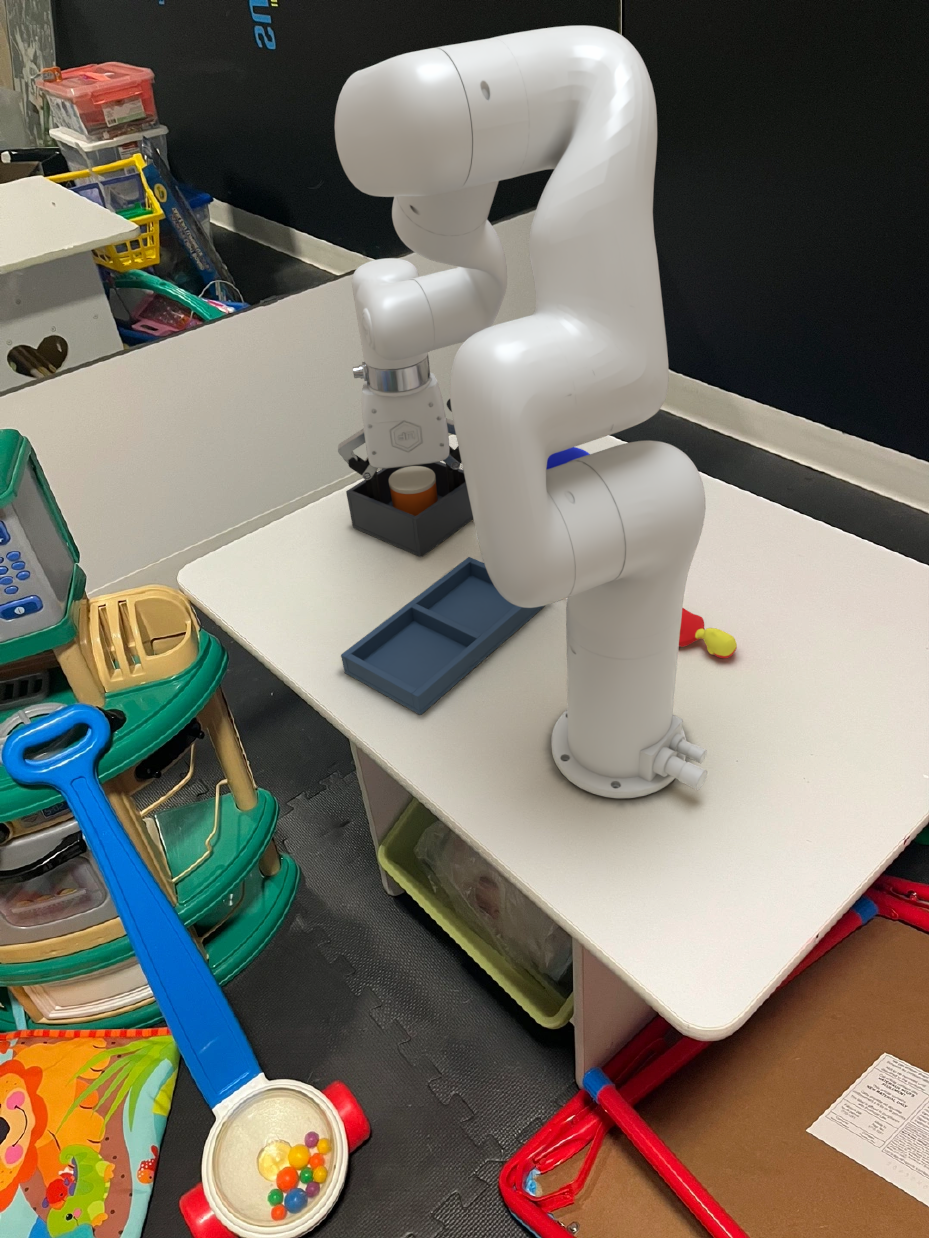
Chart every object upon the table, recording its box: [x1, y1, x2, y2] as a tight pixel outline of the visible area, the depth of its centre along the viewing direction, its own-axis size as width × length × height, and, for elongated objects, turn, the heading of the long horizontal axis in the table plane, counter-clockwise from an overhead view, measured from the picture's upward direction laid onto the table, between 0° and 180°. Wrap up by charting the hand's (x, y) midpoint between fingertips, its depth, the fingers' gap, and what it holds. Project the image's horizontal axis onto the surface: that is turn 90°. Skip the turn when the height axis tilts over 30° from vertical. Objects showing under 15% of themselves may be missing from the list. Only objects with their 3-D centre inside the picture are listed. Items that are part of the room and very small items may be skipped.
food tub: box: [389, 466, 438, 516], centre depth 118 cm, size 6×6×6 cm
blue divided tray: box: [340, 556, 546, 716], centre depth 101 cm, size 11×21×3 cm, turn 140°
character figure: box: [679, 606, 738, 659], centre depth 100 cm, size 6×4×20 cm
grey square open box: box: [345, 461, 474, 558], centre depth 119 cm, size 12×12×6 cm
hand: (415, 496), depth 118 cm, fingers open, 9 cm apart
